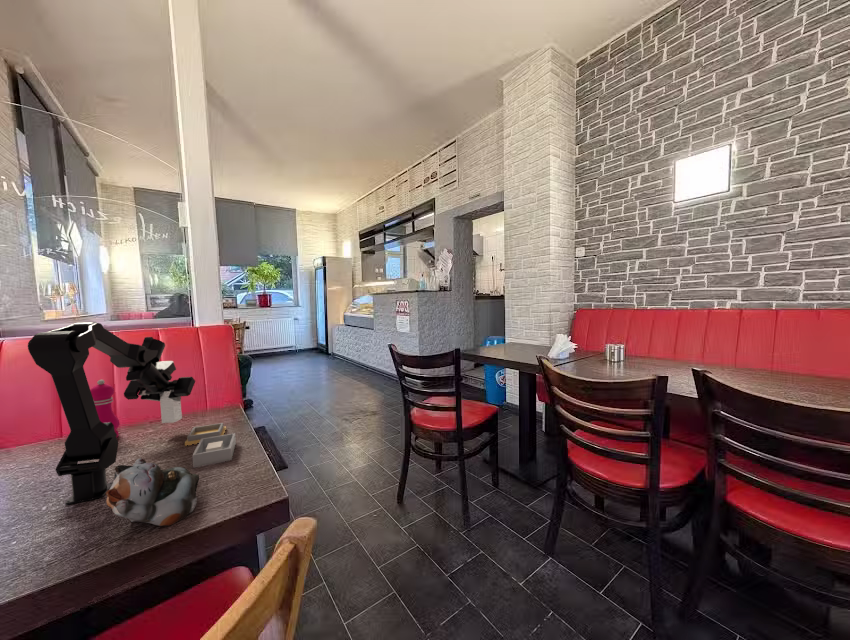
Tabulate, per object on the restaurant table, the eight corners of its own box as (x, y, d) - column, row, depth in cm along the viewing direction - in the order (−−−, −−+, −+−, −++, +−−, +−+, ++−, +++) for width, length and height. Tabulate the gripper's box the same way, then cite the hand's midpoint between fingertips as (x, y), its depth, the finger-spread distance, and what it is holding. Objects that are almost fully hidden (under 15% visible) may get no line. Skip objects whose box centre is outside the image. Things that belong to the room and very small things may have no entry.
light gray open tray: (231, 460, 94) (230, 447, 94) (193, 467, 91) (192, 454, 90) (236, 443, 105) (235, 432, 105) (202, 450, 101) (201, 438, 101)
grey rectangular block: (174, 422, 112) (172, 383, 111) (161, 423, 112) (158, 384, 111) (182, 418, 116) (179, 380, 115) (169, 419, 116) (166, 381, 115)
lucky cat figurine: (193, 523, 68) (145, 480, 61) (129, 557, 65) (73, 516, 59) (207, 469, 81) (169, 429, 74) (155, 496, 78) (111, 457, 72)
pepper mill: (117, 432, 117) (112, 376, 116) (123, 437, 113) (118, 378, 112) (88, 440, 112) (83, 380, 110) (93, 445, 107) (87, 383, 106)
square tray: (222, 439, 109) (221, 431, 109) (185, 445, 105) (184, 437, 105) (226, 429, 118) (225, 421, 118) (192, 434, 114) (191, 426, 114)
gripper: (190, 352, 110) (209, 378, 121) (127, 355, 107) (153, 381, 119) (177, 382, 102) (199, 406, 114) (109, 386, 100) (139, 410, 112)
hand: (173, 400), depth 115 cm, fingers closed on grey rectangular block, 4 cm apart
